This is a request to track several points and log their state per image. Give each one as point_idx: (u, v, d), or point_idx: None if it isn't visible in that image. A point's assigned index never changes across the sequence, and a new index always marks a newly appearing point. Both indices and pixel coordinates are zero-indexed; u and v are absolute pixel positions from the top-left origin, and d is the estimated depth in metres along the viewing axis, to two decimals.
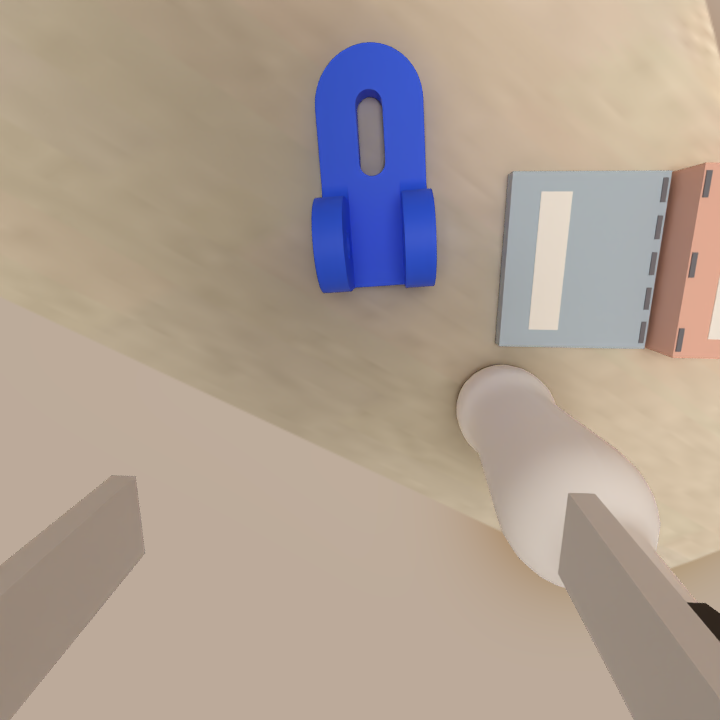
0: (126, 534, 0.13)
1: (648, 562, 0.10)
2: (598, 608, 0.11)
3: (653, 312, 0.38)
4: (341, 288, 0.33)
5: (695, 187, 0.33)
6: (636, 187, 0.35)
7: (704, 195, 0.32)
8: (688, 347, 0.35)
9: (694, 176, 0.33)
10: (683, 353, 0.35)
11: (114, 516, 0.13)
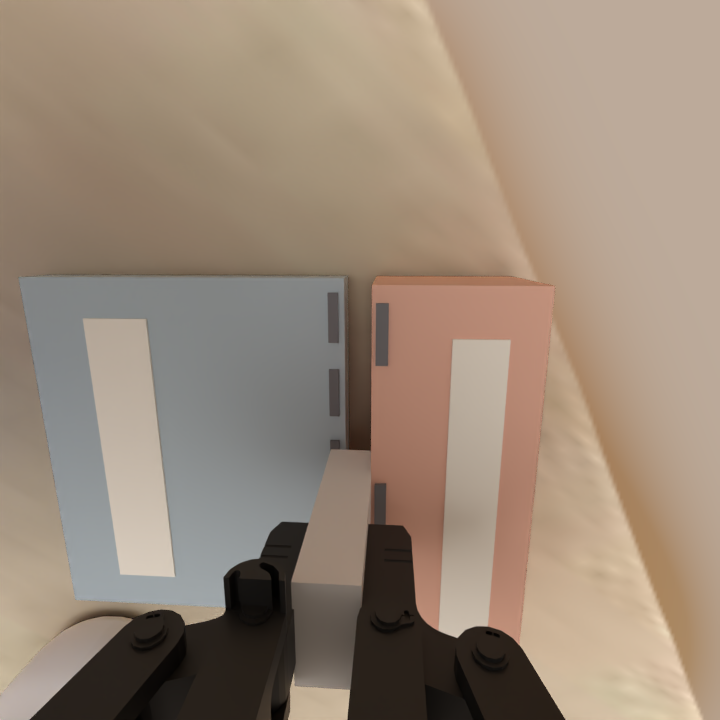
0: None
1: (369, 496, 0.13)
2: None
3: None
4: None
5: None
6: (274, 312, 0.16)
7: (378, 361, 0.13)
8: None
9: None
10: None
11: None
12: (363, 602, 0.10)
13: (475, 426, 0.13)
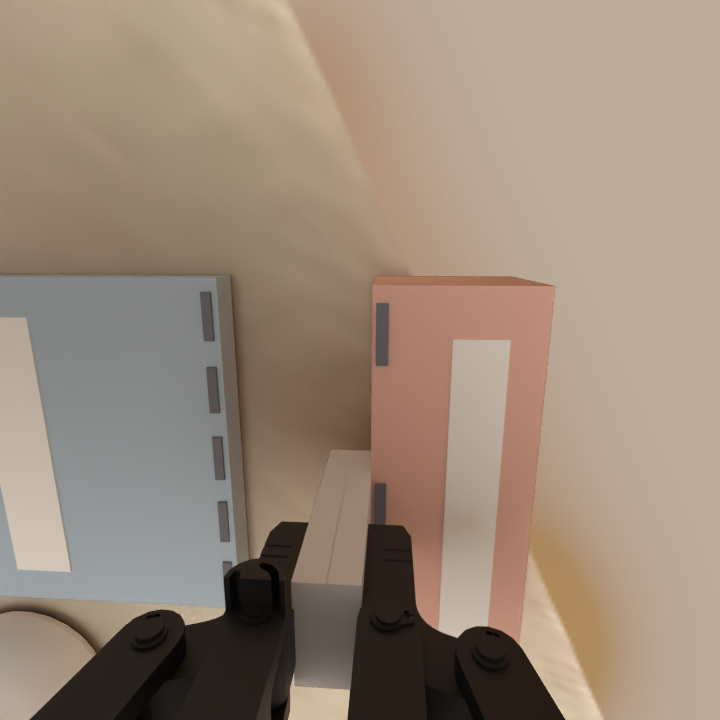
0: None
1: (369, 496, 0.13)
2: None
3: None
4: None
5: None
6: (151, 310, 0.17)
7: (378, 361, 0.13)
8: None
9: None
10: None
11: None
12: (363, 602, 0.10)
13: (475, 427, 0.13)
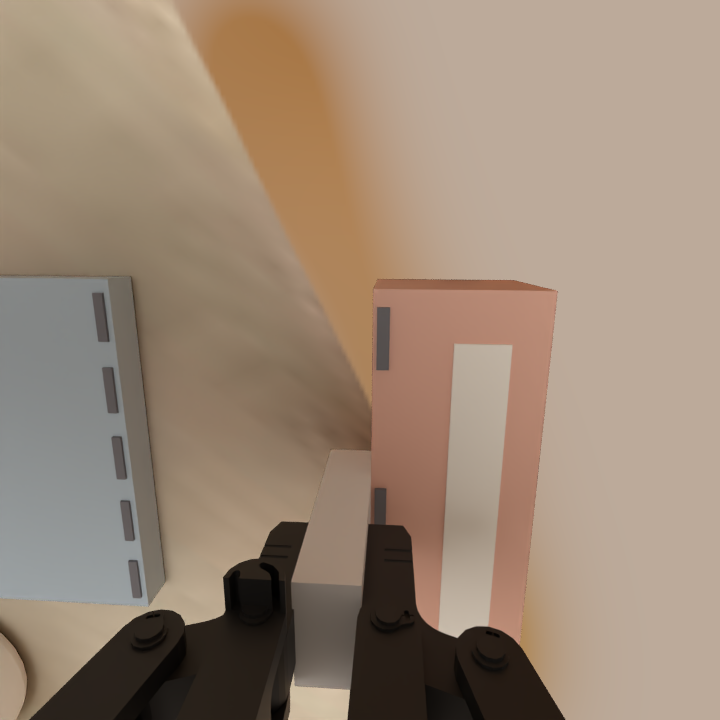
0: None
1: (369, 496, 0.13)
2: None
3: None
4: None
5: None
6: (46, 311, 0.17)
7: (379, 365, 0.13)
8: None
9: None
10: None
11: None
12: (363, 602, 0.10)
13: (476, 431, 0.13)
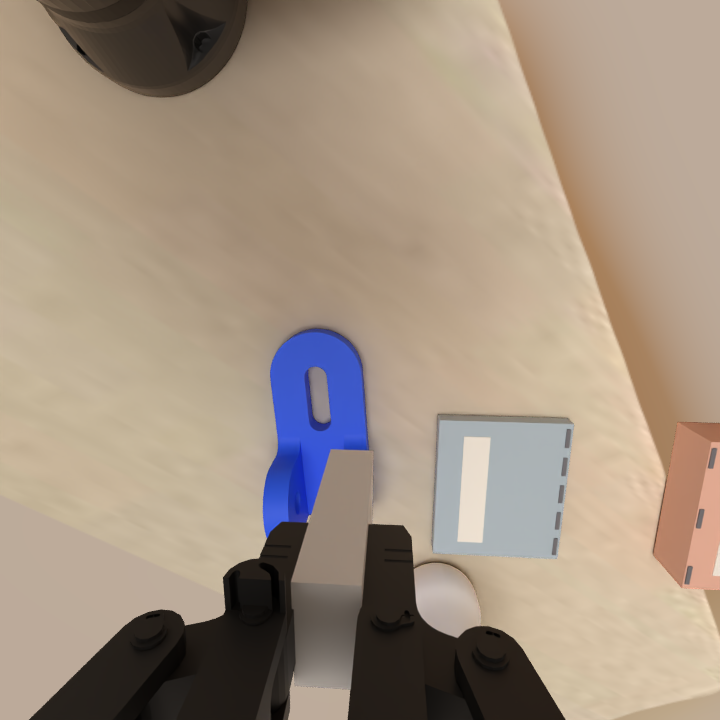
0: None
1: (369, 496, 0.13)
2: None
3: (664, 534, 0.43)
4: None
5: (702, 455, 0.38)
6: (544, 435, 0.41)
7: (710, 467, 0.37)
8: (696, 580, 0.40)
9: (701, 445, 0.38)
10: (691, 585, 0.40)
11: None
12: (363, 602, 0.10)
13: None
